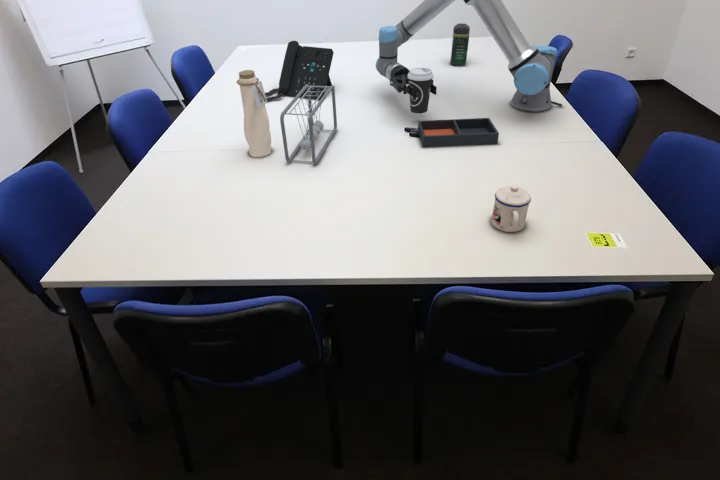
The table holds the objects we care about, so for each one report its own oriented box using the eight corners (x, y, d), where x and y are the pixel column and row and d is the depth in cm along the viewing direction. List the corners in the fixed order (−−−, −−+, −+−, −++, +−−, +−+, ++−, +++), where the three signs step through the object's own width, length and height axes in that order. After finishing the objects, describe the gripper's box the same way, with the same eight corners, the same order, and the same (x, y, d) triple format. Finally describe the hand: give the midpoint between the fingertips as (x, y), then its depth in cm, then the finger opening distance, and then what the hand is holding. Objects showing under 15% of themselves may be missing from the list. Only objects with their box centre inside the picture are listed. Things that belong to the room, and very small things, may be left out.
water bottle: (280, 148, 169) (269, 69, 152) (269, 159, 162) (255, 78, 145) (255, 145, 172) (241, 66, 155) (243, 156, 165) (227, 75, 148)
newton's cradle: (311, 128, 182) (306, 82, 171) (337, 129, 180) (334, 83, 170) (285, 165, 159) (278, 114, 148) (315, 167, 157) (310, 116, 146)
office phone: (248, 102, 206) (240, 54, 194) (281, 81, 227) (275, 36, 214) (308, 110, 197) (303, 60, 185) (336, 87, 217) (333, 41, 205)
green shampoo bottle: (466, 66, 235) (470, 26, 224) (450, 66, 236) (453, 26, 225) (466, 60, 243) (470, 22, 232) (450, 60, 244) (453, 22, 233)
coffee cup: (430, 115, 176) (432, 75, 167) (405, 114, 178) (406, 74, 169) (432, 106, 184) (434, 66, 175) (407, 105, 185) (409, 66, 176)
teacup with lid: (488, 213, 132) (494, 177, 125) (521, 214, 132) (529, 177, 125) (494, 239, 123) (501, 201, 116) (530, 240, 122) (539, 202, 115)
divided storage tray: (487, 128, 177) (489, 117, 175) (497, 144, 167) (499, 133, 164) (417, 131, 177) (418, 120, 175) (422, 147, 166) (423, 136, 164)
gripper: (420, 79, 194) (449, 97, 177) (375, 87, 188) (400, 107, 171) (421, 61, 190) (450, 77, 172) (375, 68, 184) (401, 86, 167)
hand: (425, 92), depth 172 cm, fingers closed on coffee cup, 7 cm apart
